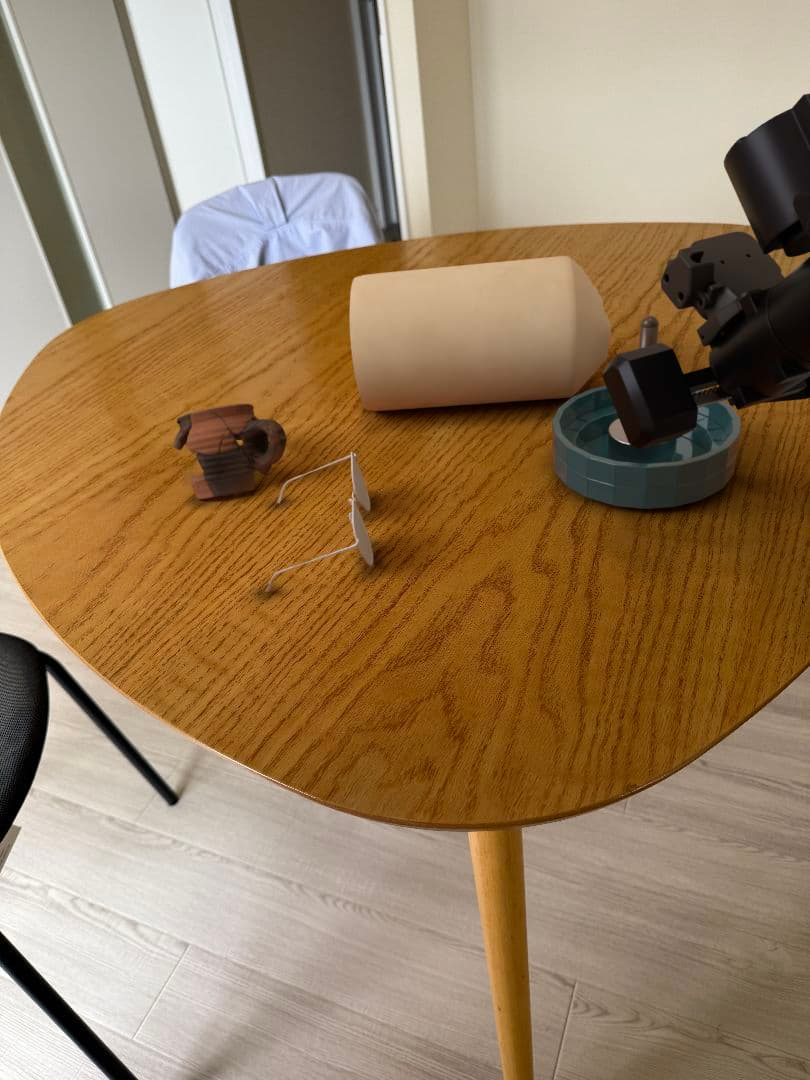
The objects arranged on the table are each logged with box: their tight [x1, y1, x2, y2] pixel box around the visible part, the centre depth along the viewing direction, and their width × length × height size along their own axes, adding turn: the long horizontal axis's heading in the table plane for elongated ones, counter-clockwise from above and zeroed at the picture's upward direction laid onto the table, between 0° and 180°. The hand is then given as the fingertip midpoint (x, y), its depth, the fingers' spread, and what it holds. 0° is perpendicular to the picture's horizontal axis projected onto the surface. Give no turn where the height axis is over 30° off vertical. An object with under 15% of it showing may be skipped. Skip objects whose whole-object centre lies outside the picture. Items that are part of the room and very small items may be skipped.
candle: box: [349, 255, 612, 412], centre depth 80 cm, size 14×14×25 cm
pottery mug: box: [173, 403, 288, 500], centre depth 75 cm, size 12×10×8 cm
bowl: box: [551, 385, 742, 510], centre depth 68 cm, size 15×15×4 cm
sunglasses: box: [265, 451, 374, 593], centre depth 65 cm, size 14×8×5 cm, turn 4°
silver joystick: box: [607, 314, 676, 464], centre depth 65 cm, size 6×6×13 cm
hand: (680, 414), depth 61 cm, fingers open, 9 cm apart
